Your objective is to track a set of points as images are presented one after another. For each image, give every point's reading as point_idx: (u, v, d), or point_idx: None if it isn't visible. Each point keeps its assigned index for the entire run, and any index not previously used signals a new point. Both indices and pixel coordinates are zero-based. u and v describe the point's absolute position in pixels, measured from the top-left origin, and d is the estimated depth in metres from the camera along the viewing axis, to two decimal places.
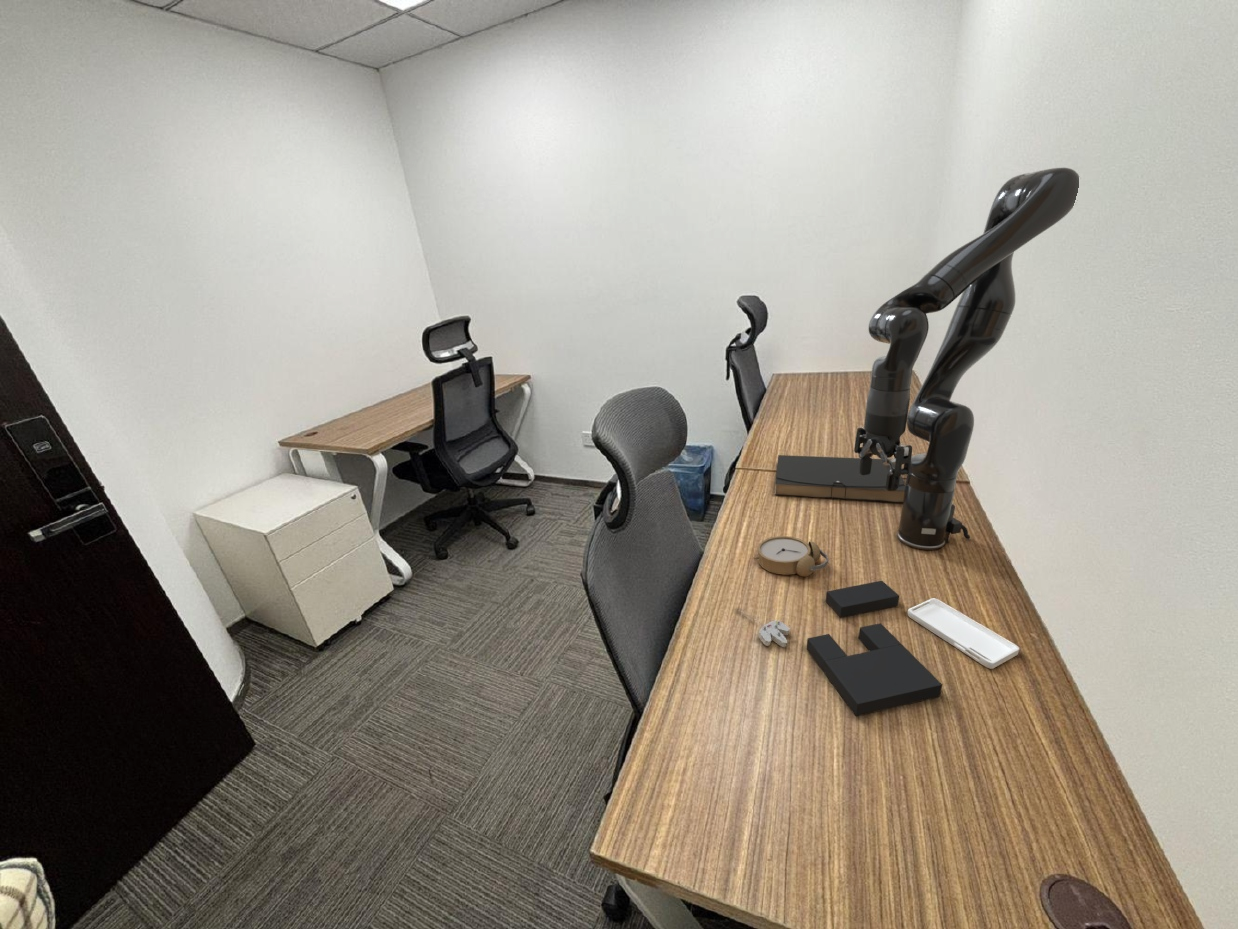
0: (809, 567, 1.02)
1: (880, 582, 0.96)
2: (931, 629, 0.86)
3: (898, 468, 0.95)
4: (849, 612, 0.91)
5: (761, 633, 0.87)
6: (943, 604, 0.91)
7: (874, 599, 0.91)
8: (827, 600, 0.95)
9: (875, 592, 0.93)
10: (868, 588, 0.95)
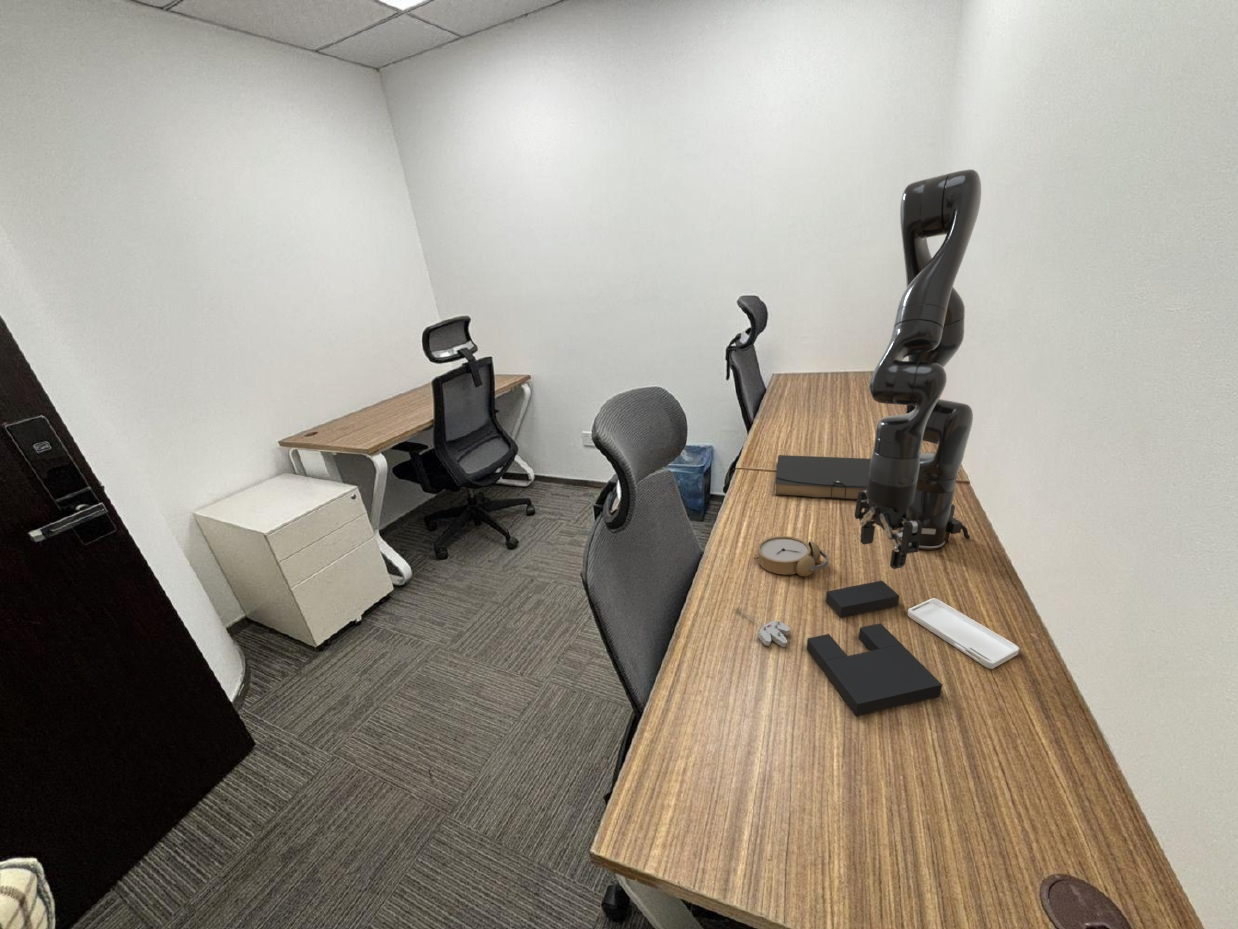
0: (809, 567, 1.02)
1: (880, 582, 0.96)
2: (931, 629, 0.86)
3: (905, 546, 0.82)
4: (849, 612, 0.91)
5: (761, 633, 0.87)
6: (943, 604, 0.91)
7: (874, 599, 0.91)
8: (827, 600, 0.95)
9: (875, 592, 0.93)
10: (868, 588, 0.95)
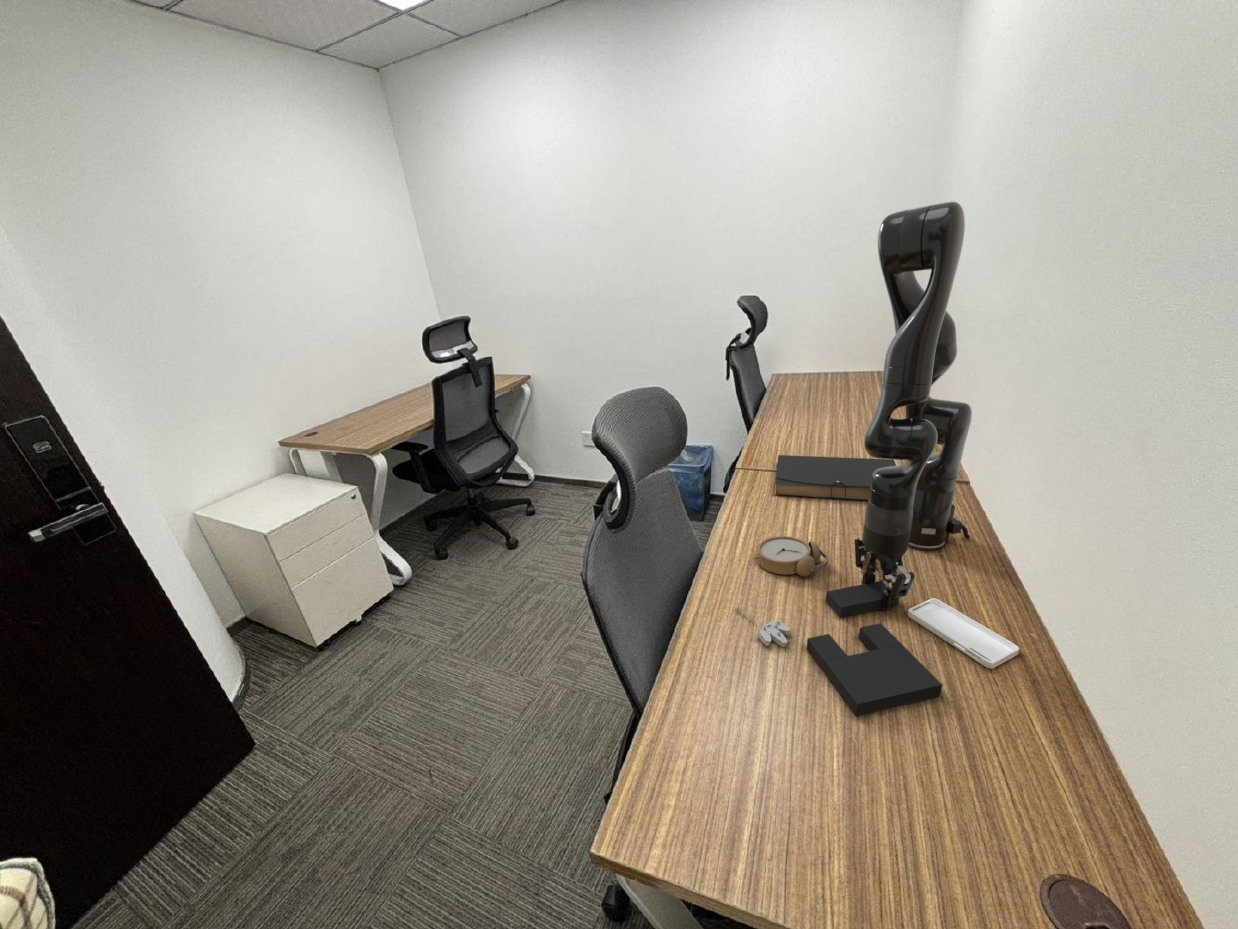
0: (809, 567, 1.02)
1: (880, 582, 0.96)
2: (931, 629, 0.86)
3: (895, 593, 0.87)
4: (849, 612, 0.91)
5: (761, 633, 0.87)
6: (943, 604, 0.91)
7: (874, 600, 0.91)
8: (827, 600, 0.95)
9: (875, 592, 0.93)
10: (868, 588, 0.95)
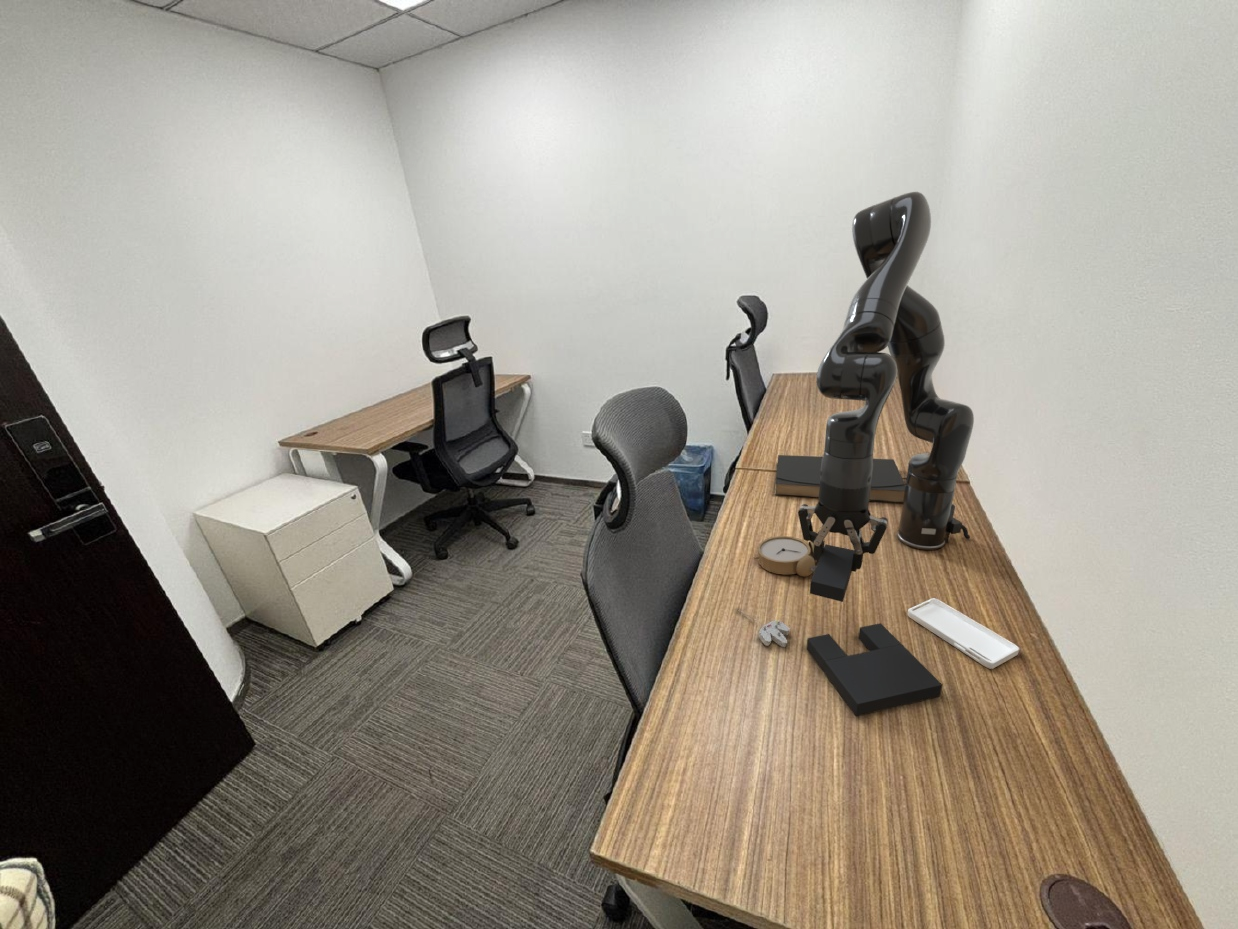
0: (809, 567, 1.02)
1: (827, 546, 0.86)
2: (931, 629, 0.86)
3: (875, 546, 0.79)
4: (845, 591, 0.77)
5: (761, 633, 0.87)
6: (943, 604, 0.91)
7: (849, 565, 0.81)
8: (813, 591, 0.78)
9: (839, 558, 0.83)
10: (830, 557, 0.83)
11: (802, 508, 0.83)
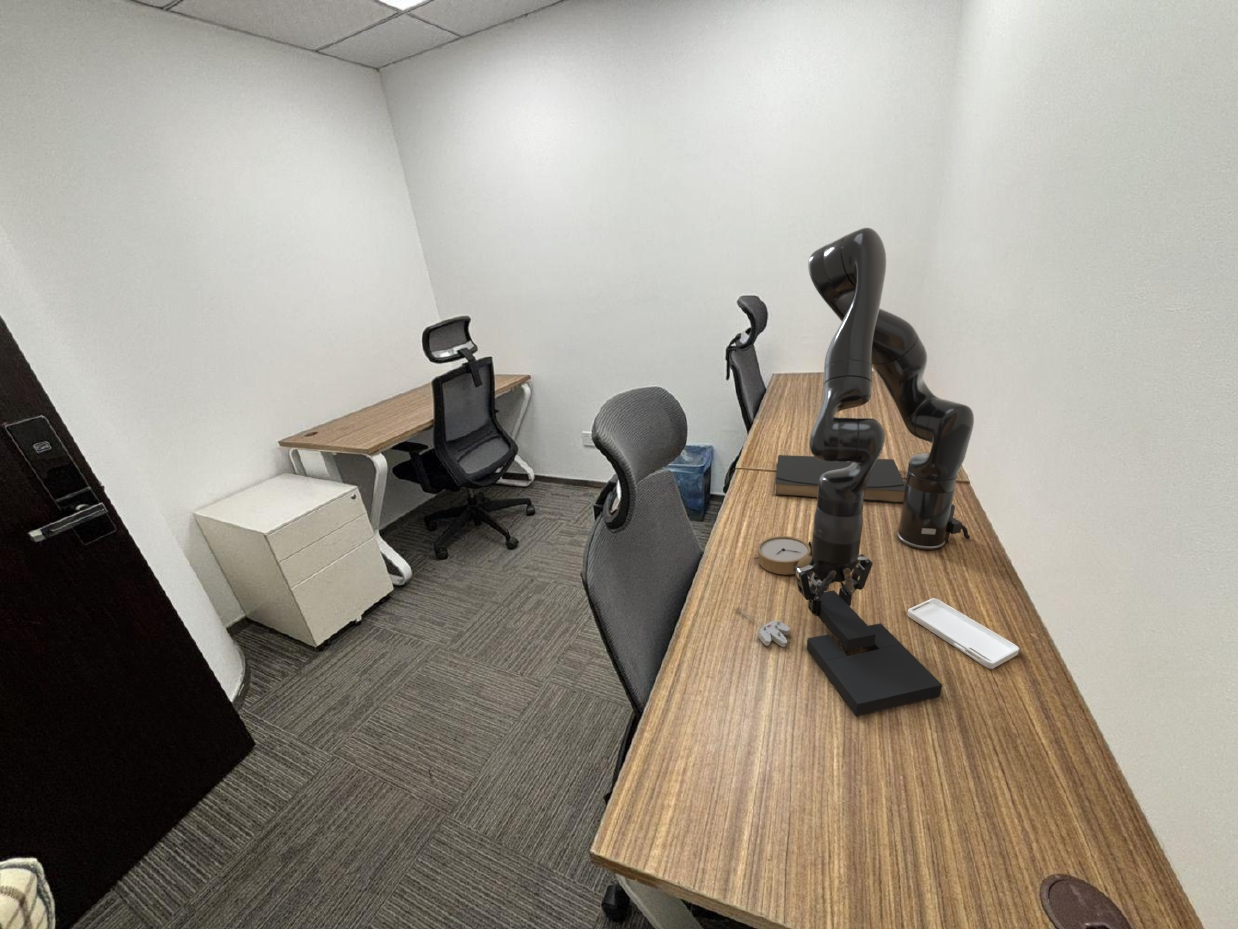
0: None
1: None
2: (931, 629, 0.86)
3: (864, 582, 0.86)
4: None
5: (761, 633, 0.87)
6: (943, 604, 0.91)
7: (849, 607, 0.86)
8: (850, 647, 0.80)
9: (834, 603, 0.87)
10: (828, 606, 0.87)
11: (802, 571, 0.84)
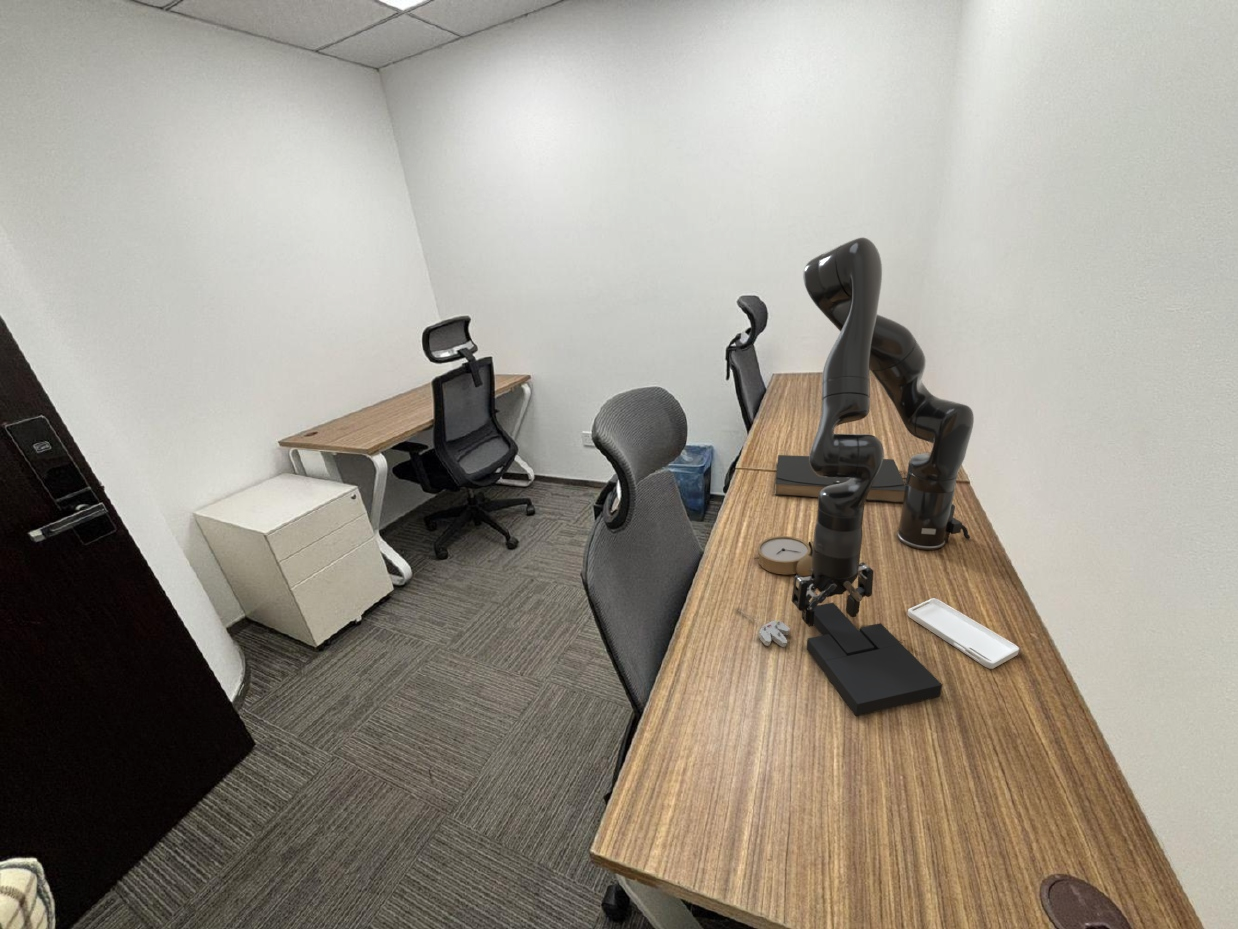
0: (809, 567, 1.02)
1: None
2: (931, 629, 0.86)
3: (871, 589, 0.87)
4: None
5: (761, 633, 0.87)
6: (943, 604, 0.91)
7: (848, 620, 0.87)
8: None
9: (833, 616, 0.88)
10: (827, 619, 0.88)
11: (803, 580, 0.84)
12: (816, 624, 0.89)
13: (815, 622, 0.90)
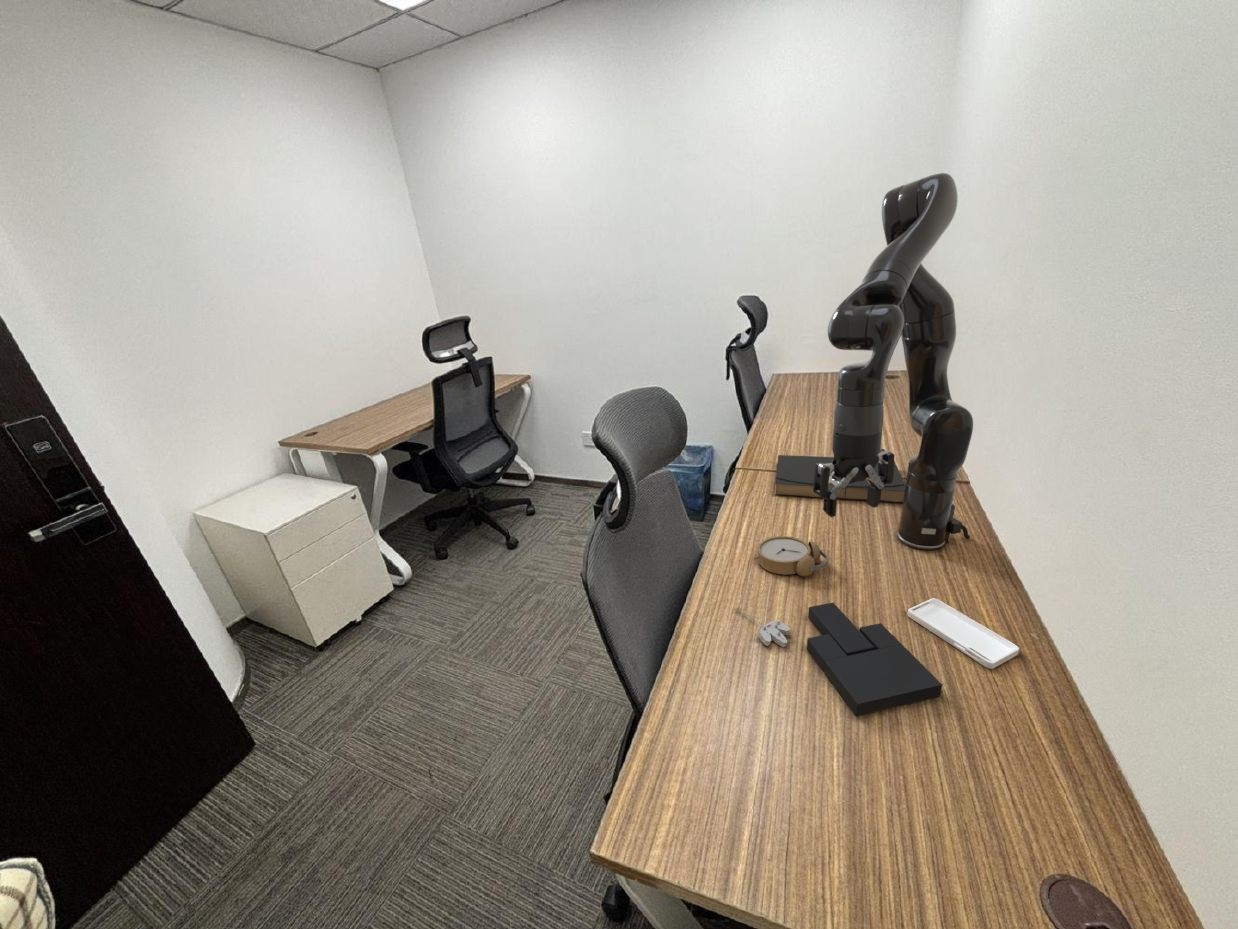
0: (809, 567, 1.02)
1: (813, 608, 0.91)
2: (931, 629, 0.86)
3: (892, 475, 0.86)
4: None
5: (761, 633, 0.87)
6: (943, 604, 0.91)
7: (848, 620, 0.87)
8: None
9: (833, 616, 0.88)
10: (827, 619, 0.88)
11: (825, 465, 0.83)
12: (816, 624, 0.89)
13: (815, 622, 0.90)
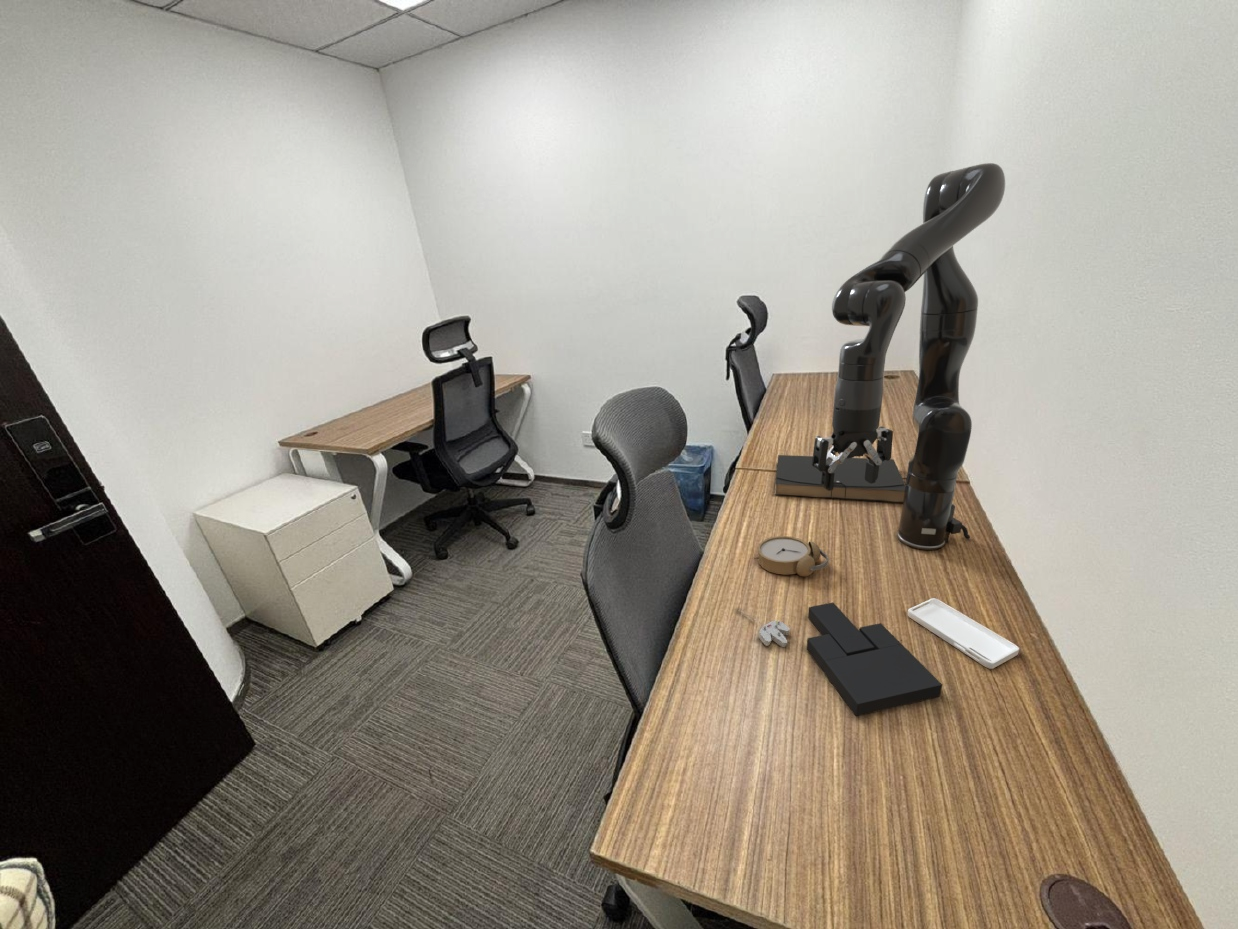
0: (809, 567, 1.02)
1: (813, 608, 0.91)
2: (931, 629, 0.86)
3: (890, 452, 0.88)
4: None
5: (761, 633, 0.87)
6: (943, 604, 0.91)
7: (848, 620, 0.87)
8: None
9: (833, 616, 0.88)
10: (827, 619, 0.88)
11: (824, 439, 0.86)
12: (816, 624, 0.89)
13: (815, 622, 0.90)
